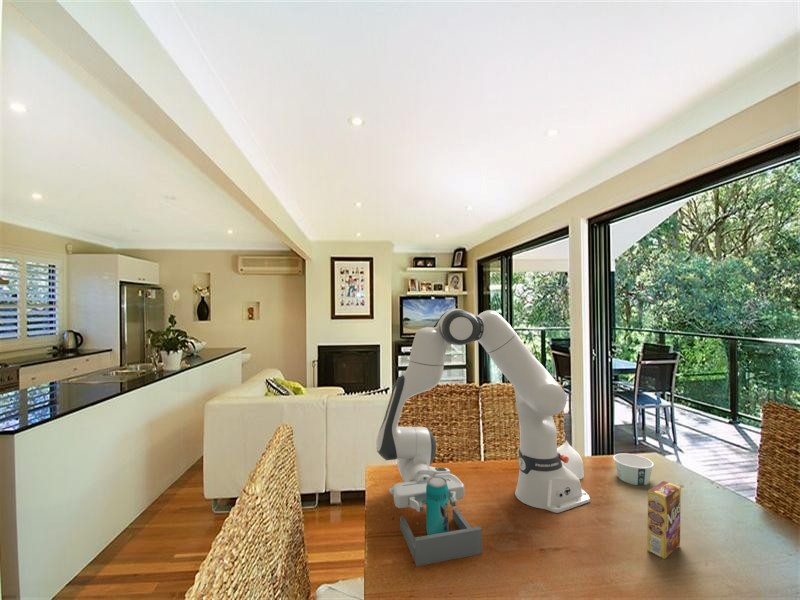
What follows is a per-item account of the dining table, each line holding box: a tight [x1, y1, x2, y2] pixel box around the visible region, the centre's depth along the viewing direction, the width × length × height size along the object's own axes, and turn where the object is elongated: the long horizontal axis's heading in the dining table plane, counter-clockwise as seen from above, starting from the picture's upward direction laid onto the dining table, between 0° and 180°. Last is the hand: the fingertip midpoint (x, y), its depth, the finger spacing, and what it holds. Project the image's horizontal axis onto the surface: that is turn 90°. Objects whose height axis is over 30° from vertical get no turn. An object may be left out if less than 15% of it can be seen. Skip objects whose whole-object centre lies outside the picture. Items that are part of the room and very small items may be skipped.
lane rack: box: [399, 507, 483, 567], centre depth 98 cm, size 17×16×6 cm
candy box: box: [646, 480, 682, 560], centre depth 94 cm, size 9×4×15 cm, turn 123°
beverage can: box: [425, 477, 450, 535], centre depth 99 cm, size 6×6×15 cm
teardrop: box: [557, 439, 585, 480], centre depth 136 cm, size 11×11×12 cm
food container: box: [612, 453, 655, 486], centre depth 131 cm, size 12×12×7 cm
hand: (437, 506), depth 99 cm, fingers open, 8 cm apart
